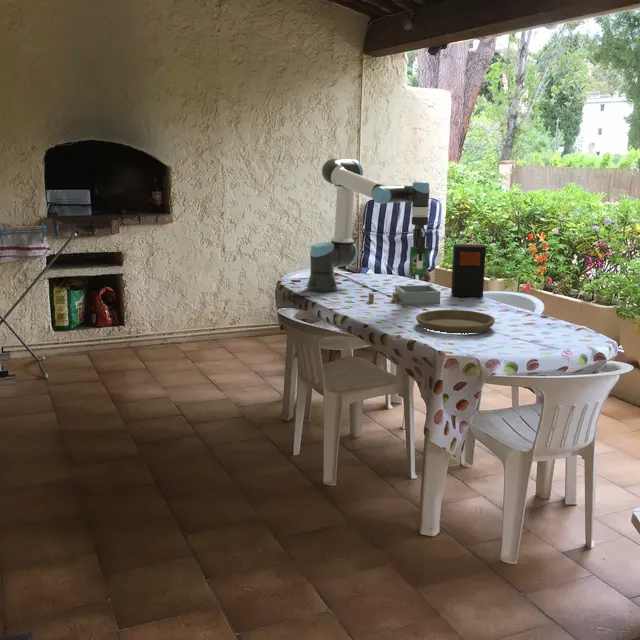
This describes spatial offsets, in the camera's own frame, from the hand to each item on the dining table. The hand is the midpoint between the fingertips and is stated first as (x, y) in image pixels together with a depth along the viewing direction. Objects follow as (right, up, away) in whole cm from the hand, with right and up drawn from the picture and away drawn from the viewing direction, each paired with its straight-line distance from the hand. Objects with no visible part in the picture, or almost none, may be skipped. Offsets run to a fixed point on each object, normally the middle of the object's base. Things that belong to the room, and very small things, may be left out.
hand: (418, 267), depth 339 cm
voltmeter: (+26, -13, +17) cm, 34 cm away
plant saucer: (+8, -28, -46) cm, 55 cm away
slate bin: (0, -16, +4) cm, 16 cm away
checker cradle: (-16, -16, +2) cm, 23 cm away
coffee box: (0, -4, +1) cm, 4 cm away
